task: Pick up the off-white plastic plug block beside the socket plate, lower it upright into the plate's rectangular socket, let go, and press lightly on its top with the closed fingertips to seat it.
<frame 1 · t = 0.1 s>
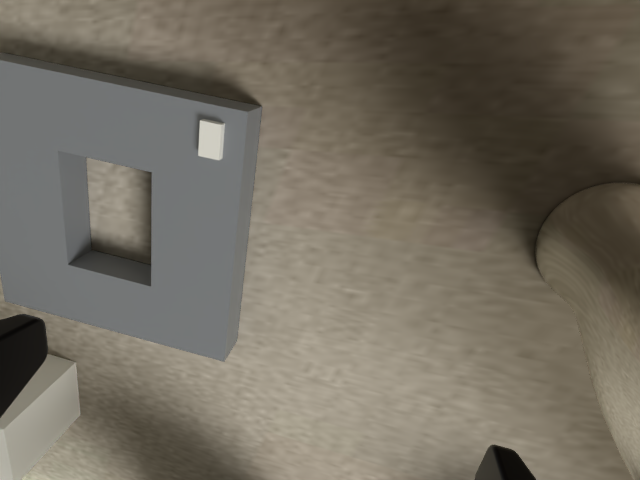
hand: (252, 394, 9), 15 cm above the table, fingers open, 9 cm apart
socket plate: (129, 209, 25), on the table
plug: (56, 382, 32), on the table
beer glass: (604, 243, 21), on the table
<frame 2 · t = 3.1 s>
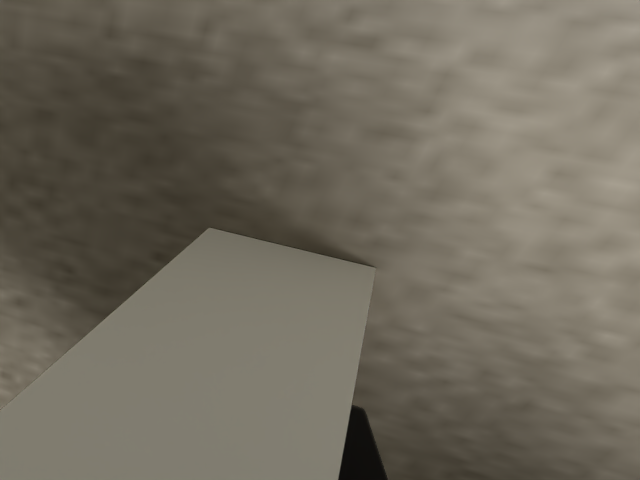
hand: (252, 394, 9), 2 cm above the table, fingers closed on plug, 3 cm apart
plug: (275, 345, 10), on the table, touching gripper
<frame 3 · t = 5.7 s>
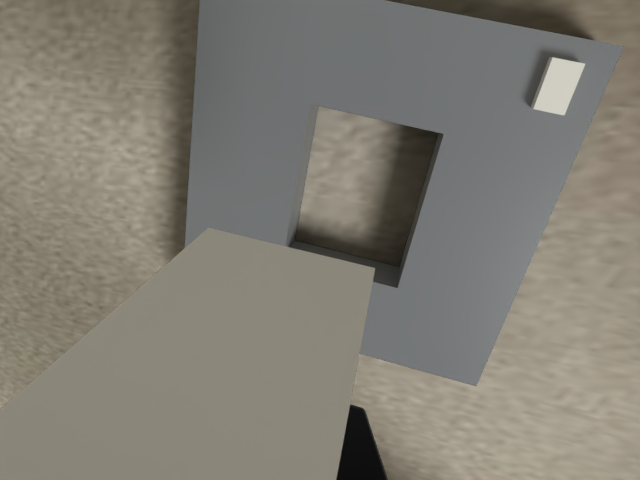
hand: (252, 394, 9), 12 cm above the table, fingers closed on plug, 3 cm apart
socket plate: (361, 187, 19), on the table
plug: (274, 345, 10), point 11 cm above the table, touching gripper
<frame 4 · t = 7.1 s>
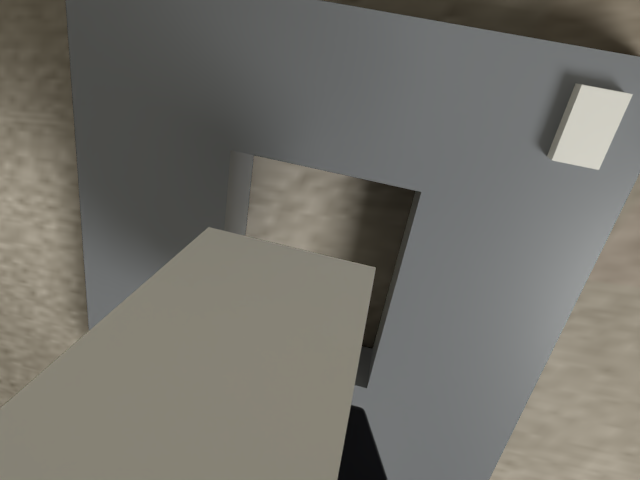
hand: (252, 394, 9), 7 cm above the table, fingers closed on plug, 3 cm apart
socket plate: (318, 250, 14), on the table
plug: (275, 345, 10), point 5 cm above the table, touching gripper
when the fingers open (3 cm above the table, at t = 8.2 s): plug drops 2 cm, resting in socket plate.
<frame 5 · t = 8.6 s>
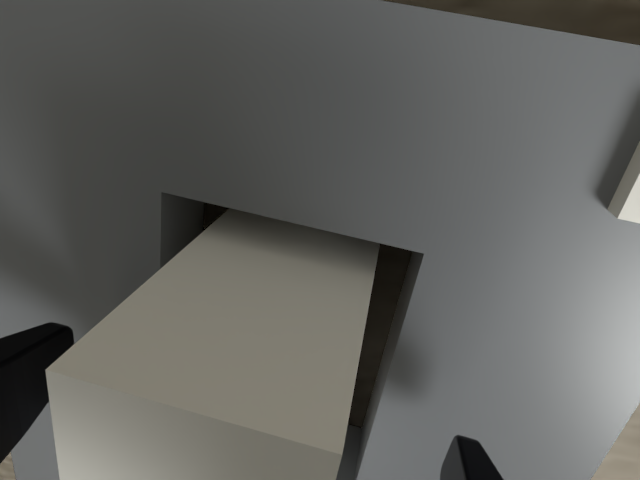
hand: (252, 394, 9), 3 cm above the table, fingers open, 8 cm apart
socket plate: (291, 310, 11), on the table
plug: (292, 308, 11), resting in socket plate
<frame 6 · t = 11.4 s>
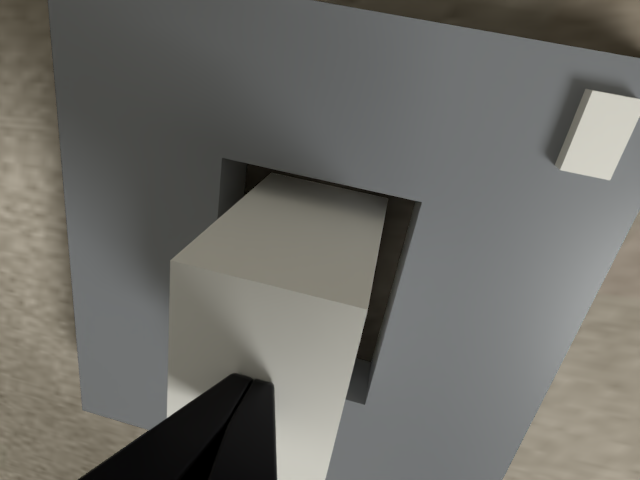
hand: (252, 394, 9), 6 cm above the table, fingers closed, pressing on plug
socket plate: (314, 260, 14), on the table
plug: (315, 260, 14), resting in socket plate, touching gripper
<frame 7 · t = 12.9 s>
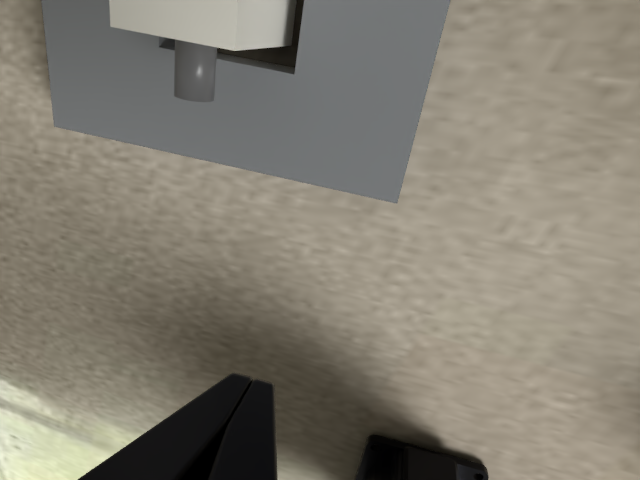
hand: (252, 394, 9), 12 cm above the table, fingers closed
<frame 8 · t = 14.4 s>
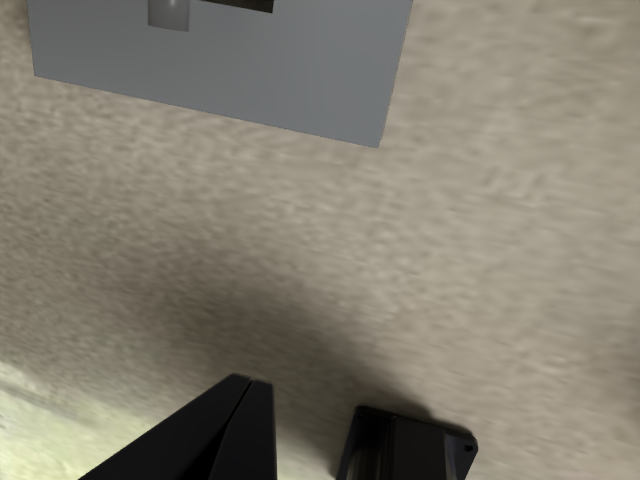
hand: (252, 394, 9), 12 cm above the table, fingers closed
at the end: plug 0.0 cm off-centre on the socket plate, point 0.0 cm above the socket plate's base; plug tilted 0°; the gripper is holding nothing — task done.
